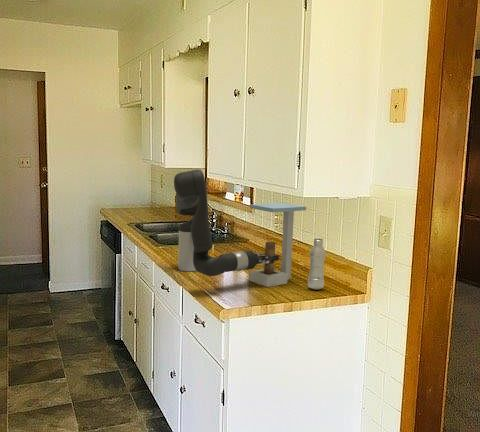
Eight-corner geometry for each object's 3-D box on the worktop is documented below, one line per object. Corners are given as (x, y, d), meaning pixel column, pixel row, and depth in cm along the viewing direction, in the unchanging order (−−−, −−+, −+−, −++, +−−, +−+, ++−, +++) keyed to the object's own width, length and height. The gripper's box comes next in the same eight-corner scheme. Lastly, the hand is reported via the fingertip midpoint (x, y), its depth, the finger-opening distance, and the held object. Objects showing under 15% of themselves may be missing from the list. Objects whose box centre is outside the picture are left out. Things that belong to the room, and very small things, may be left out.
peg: (262, 275, 216) (264, 241, 214) (271, 275, 217) (273, 241, 215) (265, 277, 212) (267, 243, 211) (274, 277, 213) (276, 243, 211)
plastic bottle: (320, 286, 211) (323, 237, 208) (326, 291, 204) (329, 241, 202) (305, 286, 210) (307, 237, 207) (310, 291, 203) (313, 240, 200)
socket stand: (269, 287, 206) (272, 208, 202) (247, 279, 217) (250, 204, 213) (302, 281, 217) (306, 206, 213) (279, 274, 228) (283, 202, 224)
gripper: (253, 254, 199) (286, 250, 209) (231, 248, 210) (264, 244, 220) (252, 274, 200) (285, 269, 210) (230, 266, 211) (263, 262, 221)
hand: (274, 256), depth 215 cm, fingers closed on peg, 4 cm apart
